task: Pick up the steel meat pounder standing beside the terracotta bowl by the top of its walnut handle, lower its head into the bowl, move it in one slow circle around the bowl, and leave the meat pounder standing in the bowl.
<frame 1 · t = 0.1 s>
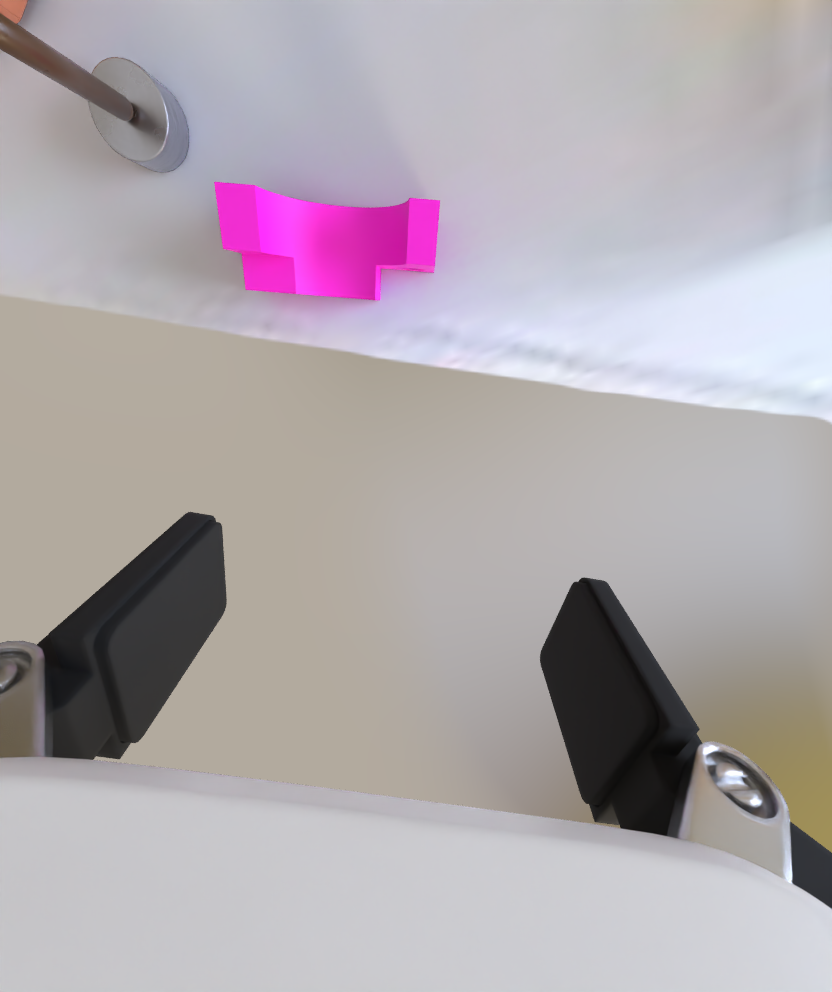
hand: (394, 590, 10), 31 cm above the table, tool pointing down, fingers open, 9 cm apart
toy block: (349, 257, 34), on the table
meat pounder: (153, 127, 30), on the table
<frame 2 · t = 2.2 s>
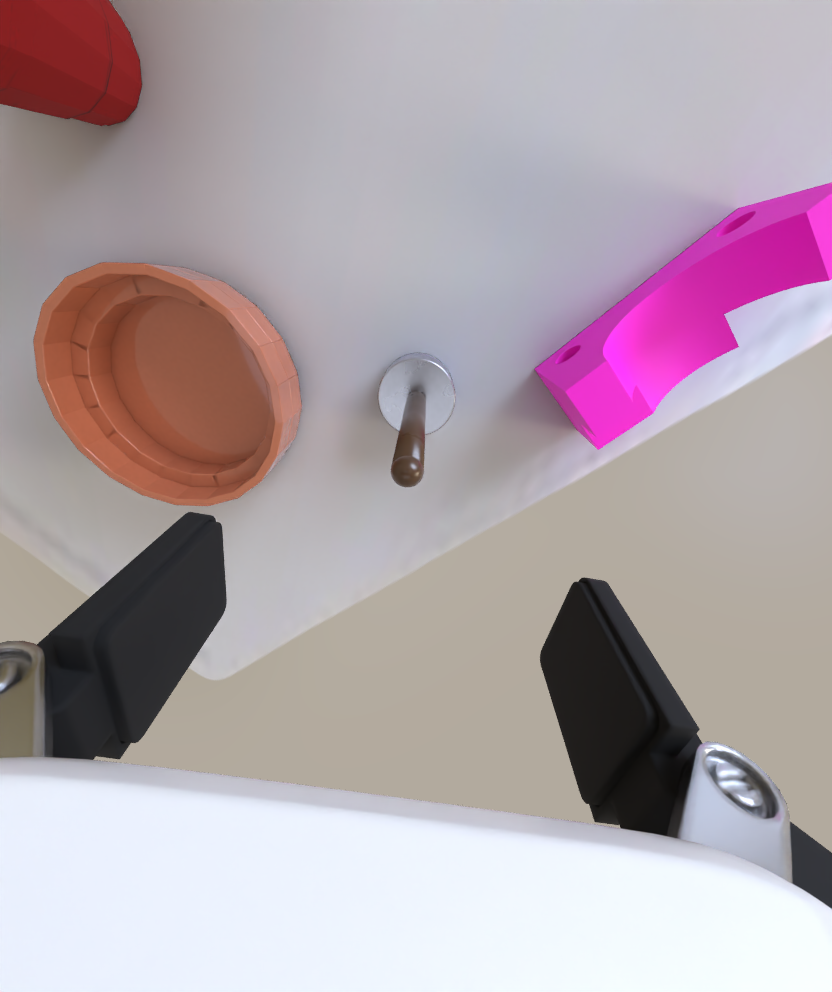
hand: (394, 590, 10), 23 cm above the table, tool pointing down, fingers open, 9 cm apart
plastic cup: (91, 64, 22), on the table
toy block: (646, 332, 28), on the table
meat pounder: (417, 390, 30), on the table
bowl: (201, 386, 31), on the table
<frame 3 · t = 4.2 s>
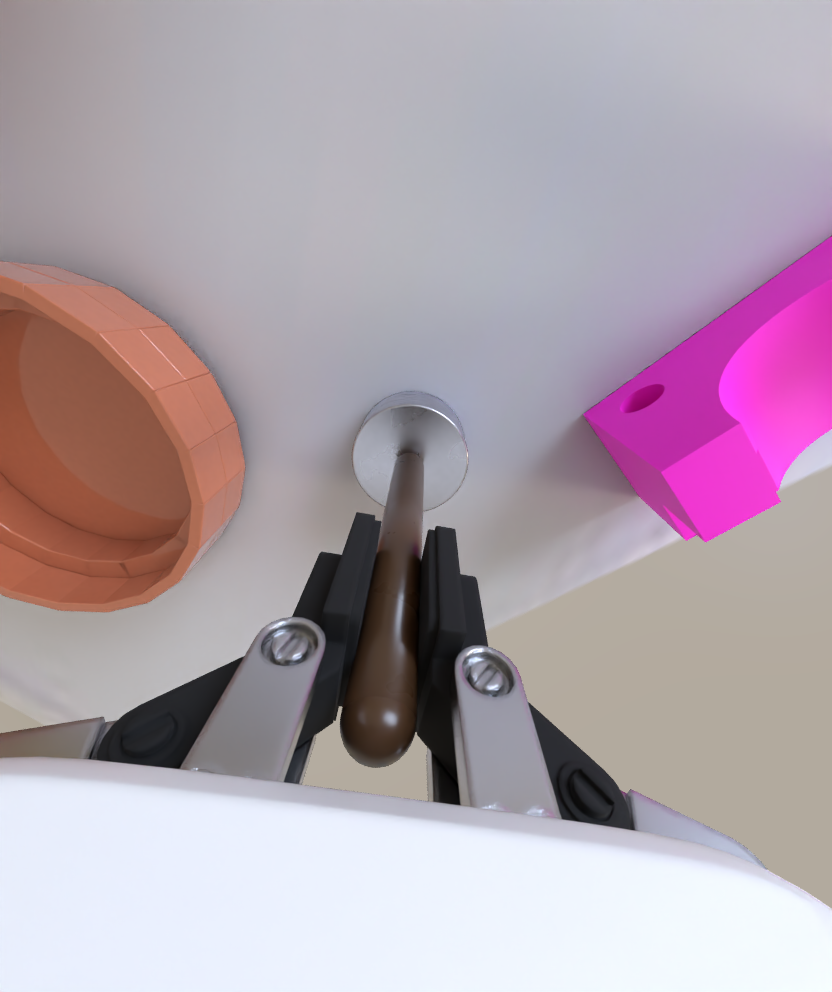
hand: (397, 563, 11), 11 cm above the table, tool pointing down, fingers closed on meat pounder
toy block: (752, 362, 19), on the table
meat pounder: (412, 443, 21), on the table, touching gripper
bowl: (101, 436, 21), on the table
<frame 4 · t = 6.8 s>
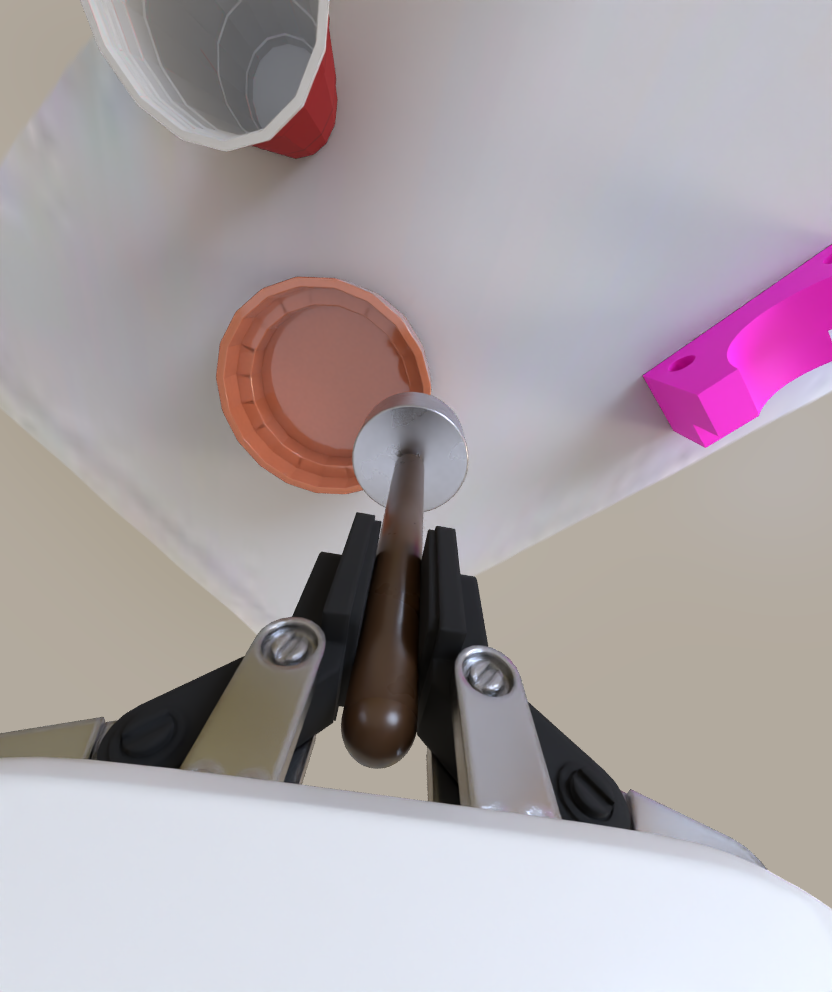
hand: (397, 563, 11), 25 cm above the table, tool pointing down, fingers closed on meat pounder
plastic cup: (292, 106, 26), on the table
toy block: (745, 345, 32), on the table
meat pounder: (412, 443, 21), point 14 cm above the table, touching gripper
bowl: (338, 386, 34), on the table
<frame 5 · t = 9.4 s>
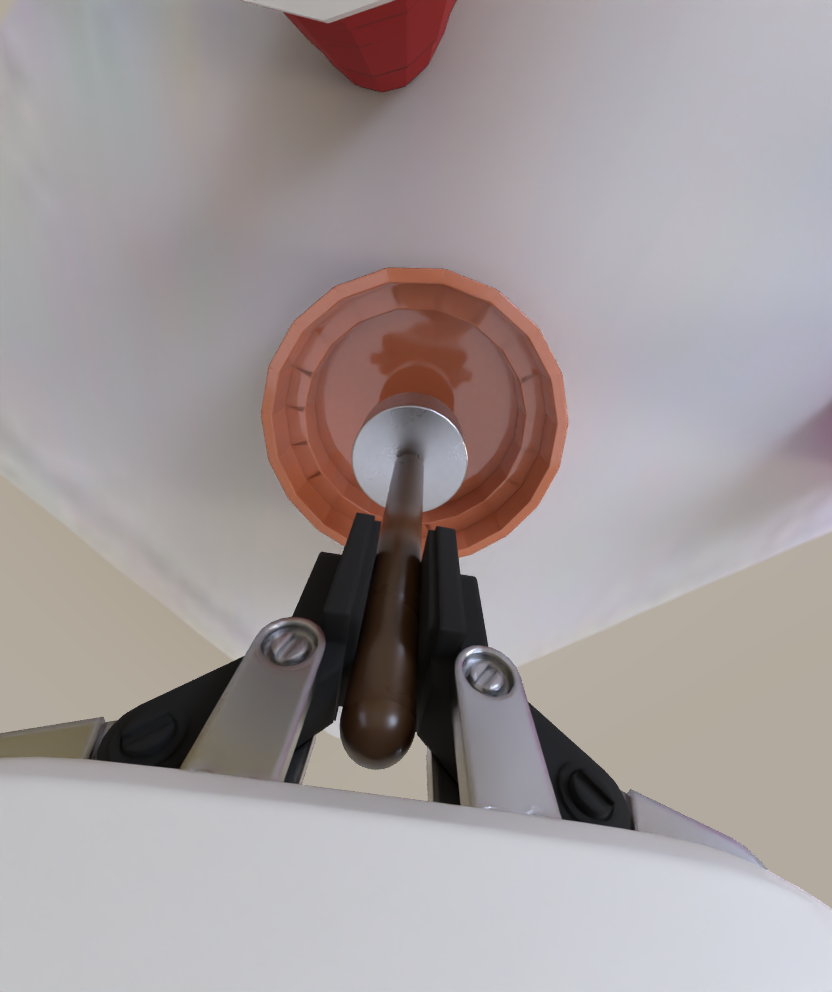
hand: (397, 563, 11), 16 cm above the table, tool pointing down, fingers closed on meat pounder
plastic cup: (376, 10, 17), on the table
meat pounder: (411, 444, 21), point 5 cm above the table, touching gripper
bowl: (416, 416, 25), on the table
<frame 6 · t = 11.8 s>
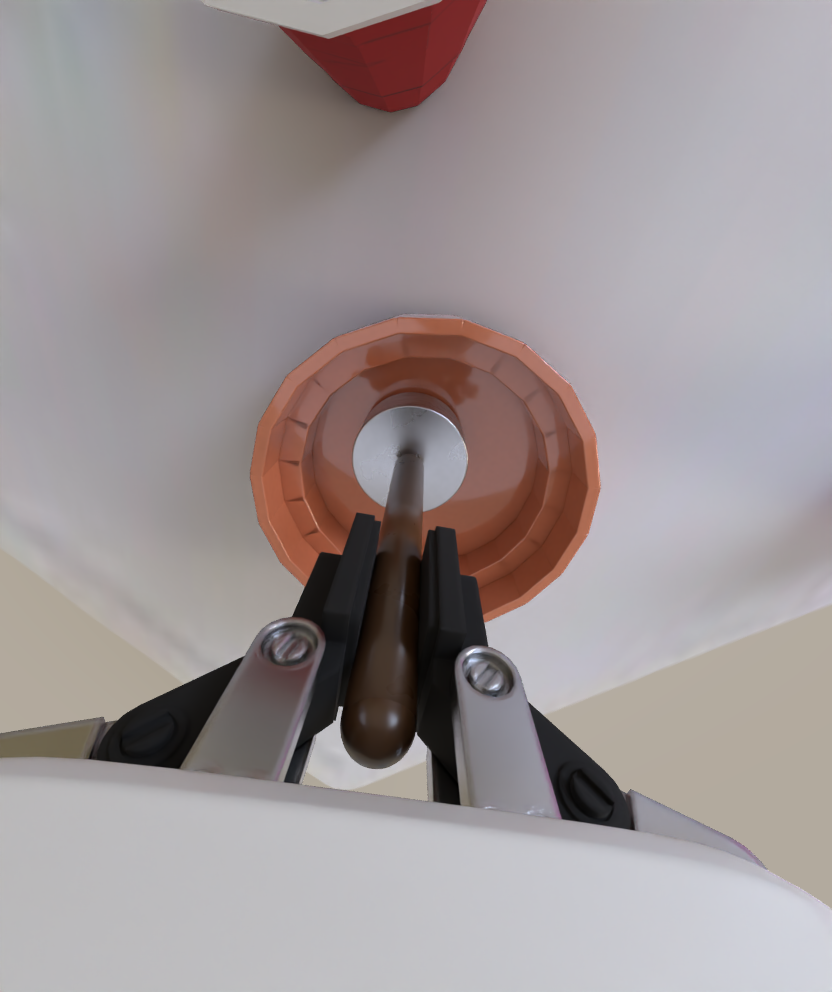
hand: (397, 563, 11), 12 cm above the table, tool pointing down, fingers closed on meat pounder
plastic cup: (385, 18, 15), on the table
meat pounder: (411, 443, 21), point 1 cm above the table, touching gripper
bowl: (424, 465, 23), on the table
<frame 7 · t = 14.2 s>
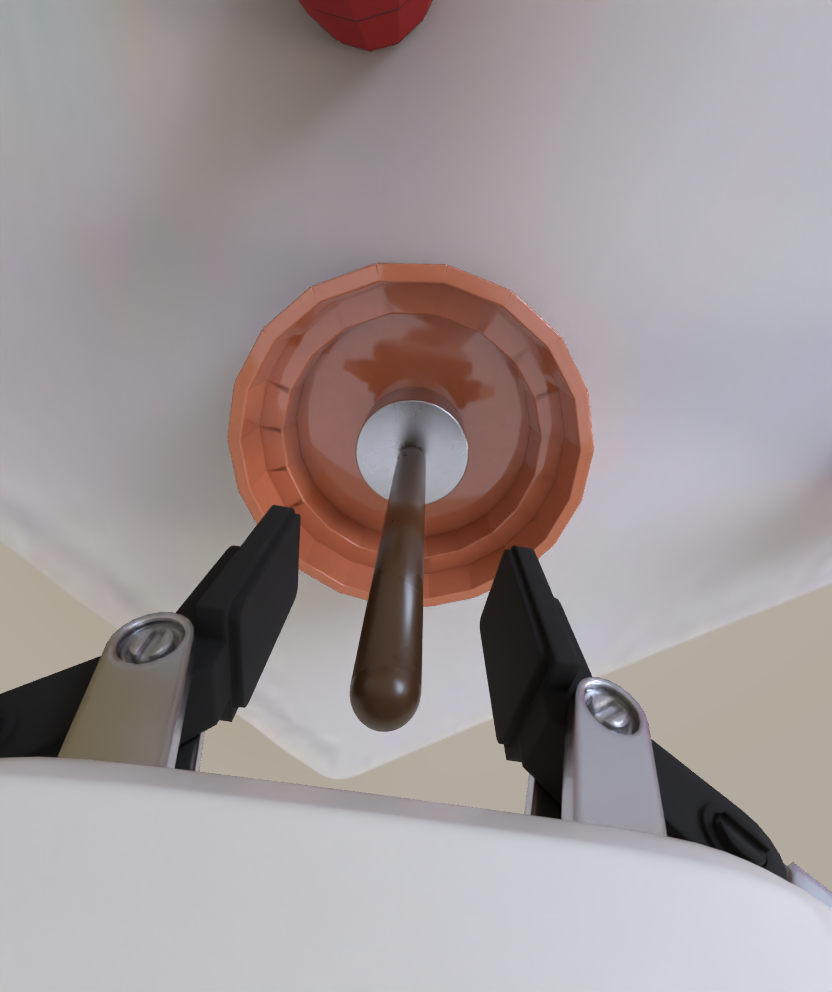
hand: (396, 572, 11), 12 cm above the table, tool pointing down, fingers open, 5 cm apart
meat pounder: (413, 438, 21), point 1 cm above the table, touching bowl
bowl: (412, 436, 22), on the table
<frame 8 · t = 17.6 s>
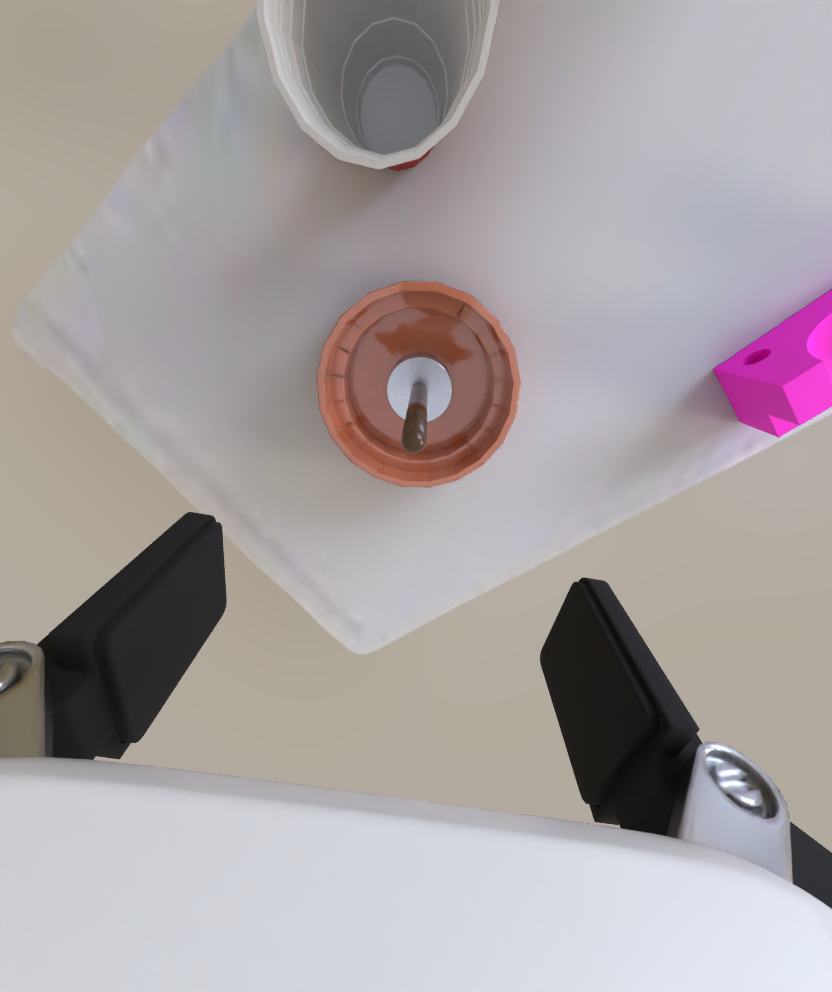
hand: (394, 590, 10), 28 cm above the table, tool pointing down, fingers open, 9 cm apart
plastic cup: (395, 121, 27), on the table
toy block: (814, 338, 33), on the table
meat pounder: (420, 385, 35), point 1 cm above the table, touching bowl
bowl: (419, 384, 36), on the table
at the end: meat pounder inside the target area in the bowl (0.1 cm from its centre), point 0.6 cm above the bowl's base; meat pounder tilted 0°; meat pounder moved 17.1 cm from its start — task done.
